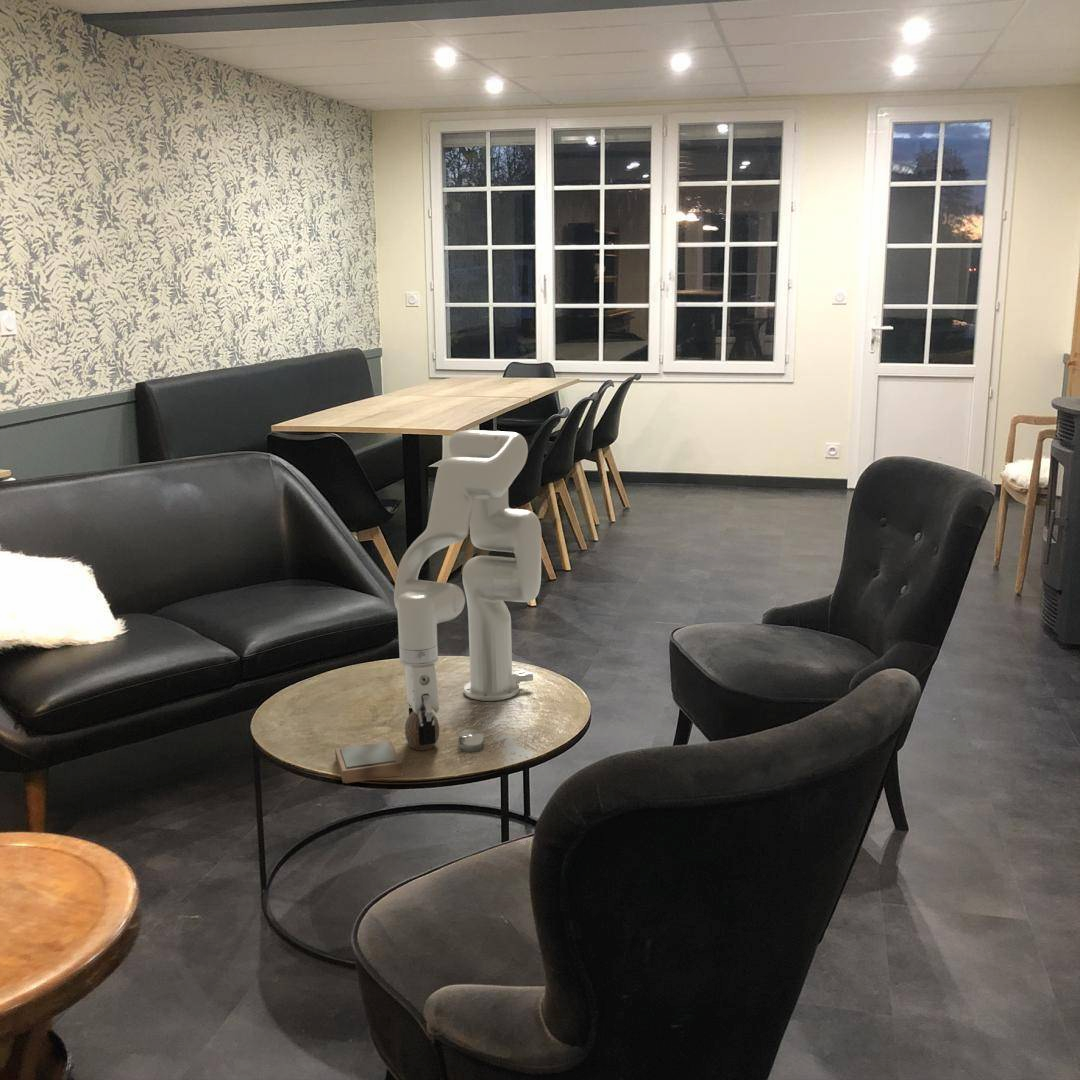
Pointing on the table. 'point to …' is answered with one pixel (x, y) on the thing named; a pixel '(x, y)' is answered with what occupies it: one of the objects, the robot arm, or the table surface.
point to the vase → (412, 731)
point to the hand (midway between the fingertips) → (422, 734)
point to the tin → (470, 741)
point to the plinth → (367, 762)
